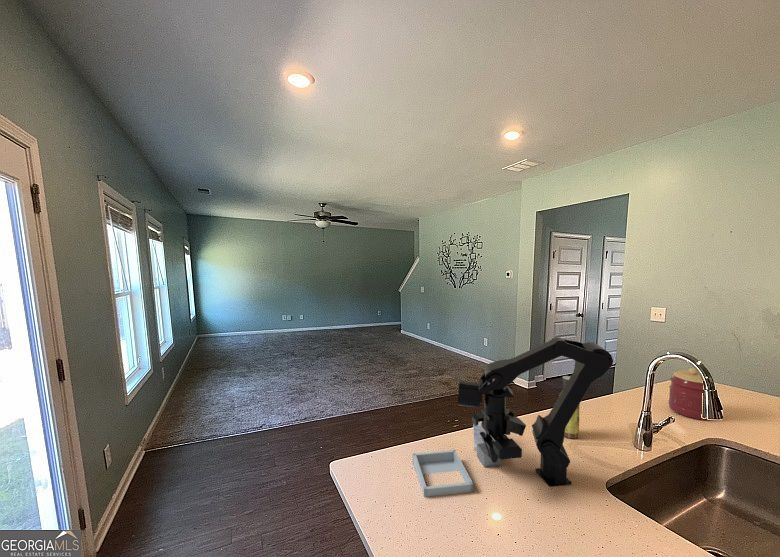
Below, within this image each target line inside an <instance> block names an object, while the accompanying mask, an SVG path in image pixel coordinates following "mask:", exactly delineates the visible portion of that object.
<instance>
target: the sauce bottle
mask: <svg viewBox="0 0 780 557" xmlns="http://www.w3.org/2000/svg"><path fill="white" fill-rule="evenodd" d="M570 377H571V375H570V376H569V375H564V376H562V378H561V379H562V380H561V381H562V390H561V392H560V393H559V394H558V397H559V396H560V394H561V393H562V391H563V389H564V387H565V386H566V384H567V382H568V381H569V379H570ZM579 433H580V405H579V406H578V407H577V409H576V411H575V412H574V414H573V416H572V417H571V419H570V421H569V422H568V424H567V426H566V428H565V434H564V438H568V439H573V438H575V439H577V438H578V437H579Z"/></svg>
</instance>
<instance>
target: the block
mask: <svg viewBox="0 0 780 557" xmlns="http://www.w3.org/2000/svg"><path fill="white" fill-rule="evenodd" d="M476 457H477V458H478V460H479V462H480V463H481V465H482V466H483V468H491V467H500V466H501V459H500V458H499V457H498V460H497V462H495V463H493V462H492V460H491V458H490V456H489V453H488V451H487V448H486V446H485V444H484V443H480V444H477V450H476Z"/></svg>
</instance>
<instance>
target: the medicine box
mask: <svg viewBox="0 0 780 557" xmlns="http://www.w3.org/2000/svg"><path fill="white" fill-rule="evenodd" d="M481 423H482V421H481V422H478V425H477V426H475V425H474V424H473V425H472V431H473V432H472V434H473V437H472V438H473V439H472V441H473V442H472V443H473V444H472V445H473V447H472V448H473V451H477V444H480V443H484V441H483V439H482V437H481V435H480V432H482V427H481Z"/></svg>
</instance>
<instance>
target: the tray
mask: <svg viewBox="0 0 780 557" xmlns="http://www.w3.org/2000/svg"><path fill="white" fill-rule="evenodd" d="M412 465H413V469H414V471H415V474H416V477H417V481H418V483H419V486H420V489H421V492H422V496H423V497H424V498H428V497H437V496H445V495H447V496H448V495H455V494H457V495H458V494H464V493H473V492H474V488H475V486H474V484H475V483H474V482H473V480H472V478H471V476H470V475H469V473H468V471H467V469H466V468H465V465H464V463H463V462H462V460H461V458H460V456H459V455H458V453H457V450H456V449H452V450H451V449H450V450H448V449H447V450H440V451H439V450H438V451H437V450H436V451H428V452H427V451H426V452H417V453H416V452H415V453H412ZM451 472H452V473H453V472H459V474H460V475H461V478H462V479H463V482H459V483H449V484H440V485H429V486H427V485H426V482H425V478H424V475H432V474H440V473H451Z"/></svg>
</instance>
